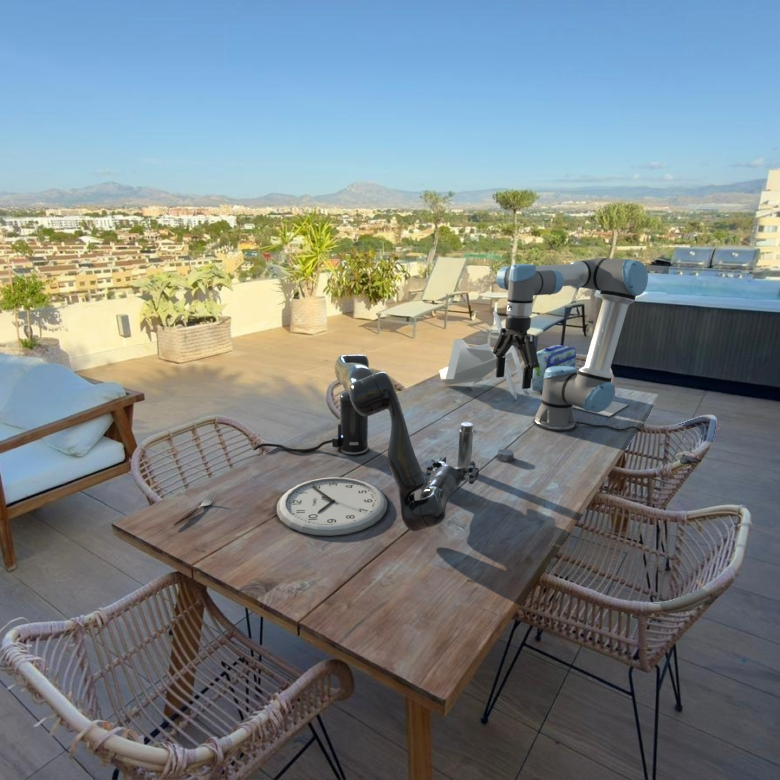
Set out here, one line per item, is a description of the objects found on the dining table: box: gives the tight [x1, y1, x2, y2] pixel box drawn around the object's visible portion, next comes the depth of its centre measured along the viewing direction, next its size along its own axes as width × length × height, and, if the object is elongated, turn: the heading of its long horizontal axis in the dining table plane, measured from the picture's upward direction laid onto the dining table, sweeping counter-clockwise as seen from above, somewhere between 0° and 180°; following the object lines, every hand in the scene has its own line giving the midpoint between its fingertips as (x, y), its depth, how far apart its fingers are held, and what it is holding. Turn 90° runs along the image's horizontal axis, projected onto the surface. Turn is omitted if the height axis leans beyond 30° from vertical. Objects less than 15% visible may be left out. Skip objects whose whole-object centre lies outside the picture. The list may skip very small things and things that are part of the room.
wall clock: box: [276, 476, 388, 537], centre depth 142 cm, size 30×2×30 cm
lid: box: [497, 448, 515, 463], centre depth 173 cm, size 5×5×2 cm
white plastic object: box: [438, 310, 531, 400], centre depth 245 cm, size 37×45×31 cm
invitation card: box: [573, 400, 629, 418], centre depth 226 cm, size 21×1×15 cm
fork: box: [173, 490, 218, 526], centre depth 138 cm, size 3×16×2 cm, turn 160°
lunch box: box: [531, 344, 577, 393], centre depth 246 cm, size 26×11×21 cm, turn 135°
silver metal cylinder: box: [456, 421, 474, 472], centre depth 162 cm, size 4×4×16 cm
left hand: (458, 461), depth 155 cm, fingers open, 8 cm apart
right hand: (512, 382), depth 166 cm, fingers open, 13 cm apart
